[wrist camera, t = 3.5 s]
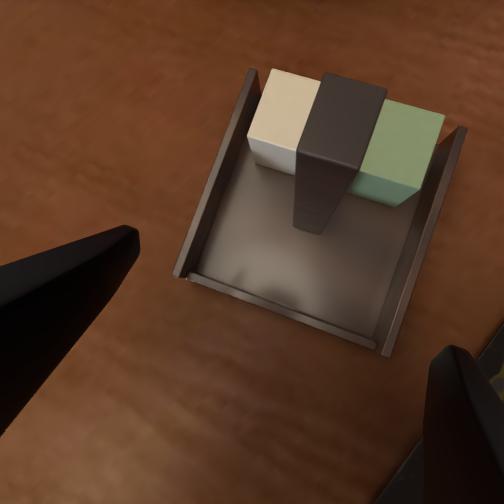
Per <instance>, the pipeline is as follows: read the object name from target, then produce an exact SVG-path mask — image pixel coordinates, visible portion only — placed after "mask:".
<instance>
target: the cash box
mask: <svg viewBox="0 0 504 504" xmlns="http://www.w3.org/2000/svg"><path fill="white" fill-rule="evenodd" d="M476 363H477V365H478V366H479V368H480V369H481V371H482V372H483V374H484V375H485V377H486V378H487V379H488V381H489V382H490V384H491V385H492V387H493V388H494V390H495V391H496V393H497V394H498V396H499V397H500V399H501V400H502V401H503V403H504V323H503V324H502V326H501V327H500V328H499V330H498V331H497V333H496V334H495V335H494V337H493V338H492V340H491V341H490V342H489V344H488V345H487V347H486V348H485V349H484V351H483V352H482V353H481V355H480V356H479V358H478V359H477V360H476ZM374 504H424V488H423V436H422V437H421V439H420V440H419V441H418V443H417V444H416V446H415V447H414V448H413V450H412V451H411V453H410V454H409V455H408V457H407V458H406V460H405V461H404V462H403V464H402V465H401V467H400V468H399V469H398V471H397V472H396V473H395V475H394V476H393V478H392V479H391V480H390V482H389V483H388V485H387V486H386V487H385V489H384V490H383V492H382V493H381V494H380V496H379V497H378V499H377V500H376V501H375V503H374Z"/></svg>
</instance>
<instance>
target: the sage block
mask: <svg viewBox="0 0 504 504" xmlns="http://www.w3.org/2000/svg"><path fill="white" fill-rule="evenodd" d="M444 118H445V115H442V114H438V113H435V112H431V111H427V110H424V109H420V108H416V107H413V106H409V105H405V104H402V103H398V102H394V101H391V100H387V99H385V101H384V103H383V106H382V109H381V112H380V115H379V118H378V120H377V123H376V126H375V129H374V132H373V135H372V137H371V140H370V143H369V146H368V149H367V151H366V154H365V157H364V160H363V163H362V166H361V168H360V170H359V172H358V174H357V175H356V177H355V179H354V180H353V182H352V183H351V185H350V187H349V188H348V190H347V193H350V194H353V195H356V196H359V197H362V198H366V199H369V200H372V201H375V202H378V203H381V204H384V205H388V206H391V207H394V208H395V207H396V206H398V205H399V204H400V203H402V202H403V201H405V200H406V199H407V198H409V197H410V196H411V195H413V194H414V193H416V192H417V191H418V190H420V188H421V185H422V183H423V180H424V177H425V174H426V171H427V168H428V165H429V162H430V159H431V156H432V153H433V150H434V148H435V145H436V142H437V139H438V136H439V133H440V130H441V127H442V124H443V121H444Z"/></svg>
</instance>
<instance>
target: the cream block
mask: <svg viewBox="0 0 504 504" xmlns="http://www.w3.org/2000/svg"><path fill="white" fill-rule="evenodd" d="M320 83H321V82H320V81H317V80H313V79H309V78H306V77H302V76H298V75H295V74H291V73H287V72H284V71H280V70H276V69H272V70H271V73H270V75H269V78H268V81H267V83H266V86H265V89H264V91H263V94H262V97H261V99H260V102H259V105H258V107H257V110H256V113H255V115H254V118H253V121H252V123H251V126H250V129H249V131H248V134H247V138H248V141H249V145H250V148H251V152H252V155H253V159H254V162H255V163H256V164H259V165H262V166H266V167H269V168H272V169H275V170H278V171H281V172H284V173H288V174H291V175H294V176H295V163H296V148H297V146H298V143H299V140H300V138H301V135H302V132H303V129H304V127H305V124H306V121H307V118H308V116H309V113H310V110H311V107H312V105H313V102H314V99H315V97H316V94H317V91H318V88H319V86H320Z"/></svg>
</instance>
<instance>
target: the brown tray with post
mask: <svg viewBox="0 0 504 504" xmlns="http://www.w3.org/2000/svg"><path fill="white" fill-rule="evenodd" d="M386 95H387V89H386V88H382V87H379V86H375V85H371V84H368V83H364V82H360V81H356V80H353V79H349V78H345V77H341V76H338V75H334V74H330V73H325V74H324V75H323V77H322V80H321V83H320V86H319V88H318V91H317V94H316V97H315V99H314V102H313V105H312V107H311V110H310V113H309V116H308V118H307V121H306V124H305V127H304V129H303V132H302V135H301V138H300V140H299V143H298V146H297V148H296V163H295V176H294V175H291V174H288V173H284V172H281V171H278V170H275V169H272V168H269V167H266V166H262V165H259V164H256V163H255V162H254V159H253V155H252V152H251V148H250V145H249V141H248V138H247V134H248V131H249V129H250V126H251V123H252V121H253V118H254V115H255V113H256V110H257V107H258V105H259V102H260V99H261V97H262V94H261V91H260V85H259V78H258V72H257V70H256V69H252V68H250V69H249V71H248V74H247V77H246V79H245V82H244V85H243V87H242V90H241V93H240V95H239V98H238V100H237V103H236V106H235V108H234V111H233V114H232V116H231V119H230V122H229V124H228V127H227V130H226V132H225V135H224V137H223V140H222V143H221V145H220V148H219V151H218V153H217V156H216V159H215V161H214V164H213V166H212V169H211V172H210V174H209V177H208V180H207V182H206V185H205V188H204V190H203V193H202V195H201V198H200V201H199V203H198V206H197V209H196V211H195V214H194V217H193V219H192V222H191V224H190V227H189V230H188V232H187V235H186V238H185V240H184V243H183V246H182V248H181V251H180V254H179V256H178V259H177V261H176V264H175V267H174V269H173V272H172V276H175V277H178V278H186V279H188V280H191V281H193V282H196V283H199V284H201V285H204V286H206V287H209V288H212V289H214V290H217V291H219V292H222V293H225V294H227V295H230V296H233V297H235V298H238V299H240V300H243V301H246V302H248V303H251V304H253V305H256V306H259V307H261V308H264V309H267V310H269V311H272V312H274V313H277V314H280V315H282V316H285V317H287V318H290V319H293V320H295V321H298V322H301V323H303V324H306V325H308V326H311V327H314V328H316V329H319V330H321V331H324V332H327V333H329V334H332V335H335V336H337V337H340V338H342V339H345V340H348V341H350V342H353V343H355V344H358V345H361V346H363V347H366V348H368V349H371V350H374V351H376V352H378V353H379V354H380V355H381V356H384V357H386V358H390V357H391V355H392V352H393V349H394V346H395V343H396V340H397V337H398V334H399V331H400V328H401V325H402V322H403V319H404V316H405V313H406V310H407V307H408V304H409V301H410V298H411V295H412V292H413V289H414V287H415V284H416V281H417V278H418V275H419V272H420V269H421V266H422V263H423V260H424V257H425V254H426V251H427V248H428V245H429V242H430V239H431V236H432V233H433V230H434V227H435V224H436V221H437V219H438V216H439V213H440V210H441V207H442V204H443V201H444V198H445V195H446V192H447V189H448V186H449V183H450V180H451V177H452V174H453V171H454V168H455V165H456V162H457V159H458V156H459V153H460V151H461V148H462V145H463V142H464V139H465V136H466V133H467V130H468V128H466V127H463V126H458V127H457V128H456V129H455V130H454V131H453V132H452V133H451V134H450V135H449V136H448V137H446V138H445V139H444V140H443V141H442V142H441V143H440V144H439V145H437V144H436V145H435V148H434V150H433V153H432V156H431V159H430V162H429V165H428V168H427V171H426V174H425V177H424V180H423V183H422V185H421V188H420V190H418V191H417V192H416V193H414V194H413V195H411V196H410V197H409V198H407V199H406V200H405V201H403V202H402V203H400V204H399V205H398V206H396V207H395V208H394V207H391V206H388V205H384V204H381V203H378V202H375V201H372V200H369V199H366V198H362V197H359V196H356V195H353V194H350V193H347V190H348V188H349V187H350V185H351V183H352V182H353V180H354V179H355V177H356V175H357V174H358V172H359V170H360V168H361V166H362V163H363V160H364V157H365V154H366V151H367V149H368V146H369V143H370V140H371V137H372V135H373V132H374V129H375V126H376V123H377V120H378V118H379V115H380V112H381V109H382V106H383V103H384V101H385V98H386Z"/></svg>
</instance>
